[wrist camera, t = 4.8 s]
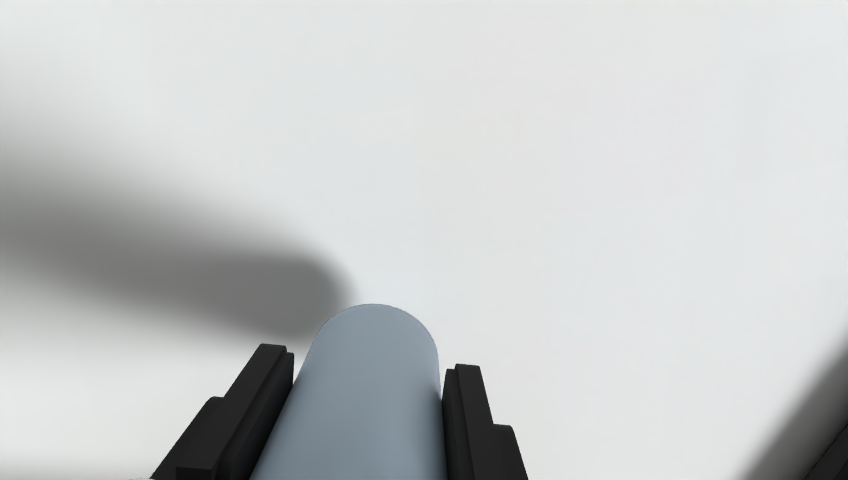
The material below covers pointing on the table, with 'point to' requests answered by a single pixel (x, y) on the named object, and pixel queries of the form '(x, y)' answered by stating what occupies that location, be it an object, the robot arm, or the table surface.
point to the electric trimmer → (833, 461)
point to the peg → (362, 404)
